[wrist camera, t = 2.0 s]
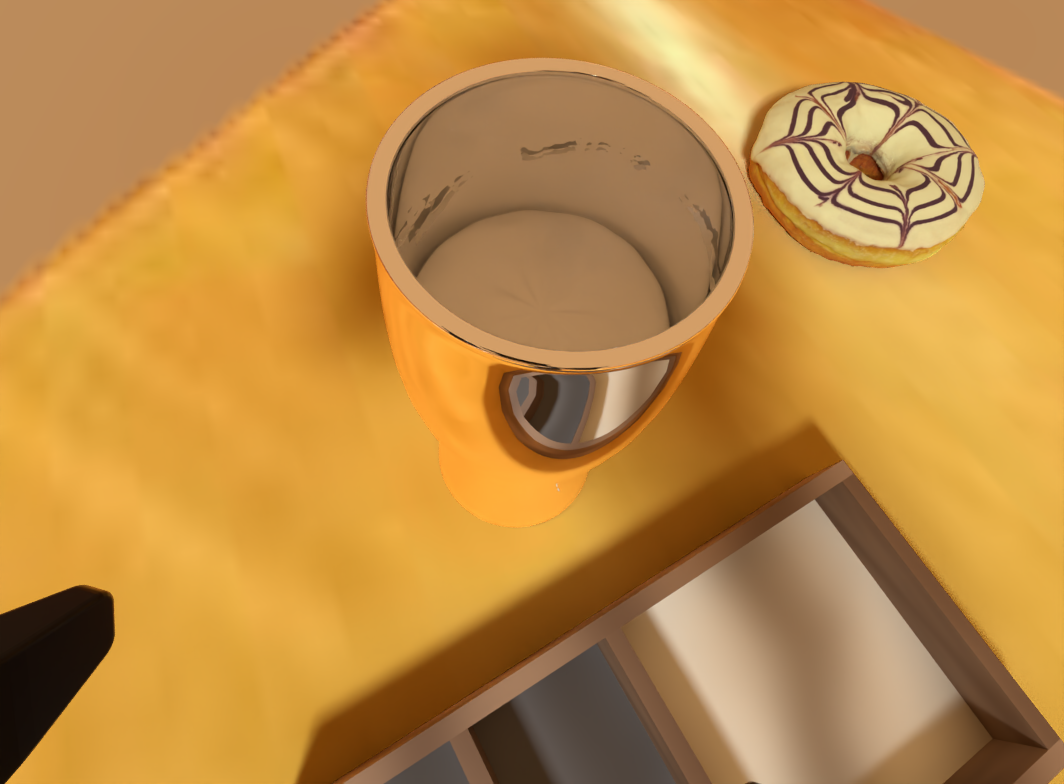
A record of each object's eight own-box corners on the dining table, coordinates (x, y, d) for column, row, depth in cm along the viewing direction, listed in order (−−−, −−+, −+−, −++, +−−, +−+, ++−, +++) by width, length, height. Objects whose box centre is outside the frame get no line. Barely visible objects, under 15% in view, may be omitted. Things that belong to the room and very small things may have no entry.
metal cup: (403, 513, 22) (279, 311, 8) (457, 356, 25) (429, 11, 11) (579, 560, 22) (747, 436, 8) (614, 398, 25) (782, 100, 11)
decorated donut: (809, 94, 34) (847, 32, 30) (972, 205, 31) (1034, 151, 28) (701, 187, 30) (730, 128, 27) (875, 319, 28) (931, 274, 24)
